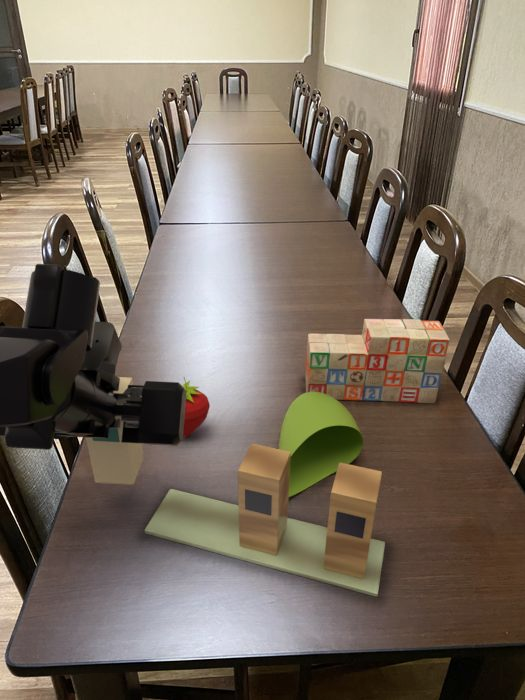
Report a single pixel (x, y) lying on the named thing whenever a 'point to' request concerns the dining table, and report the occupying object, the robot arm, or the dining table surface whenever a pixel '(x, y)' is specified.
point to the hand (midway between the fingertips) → (116, 419)
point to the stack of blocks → (379, 361)
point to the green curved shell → (317, 439)
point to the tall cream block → (115, 452)
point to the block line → (283, 523)
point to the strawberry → (194, 409)
